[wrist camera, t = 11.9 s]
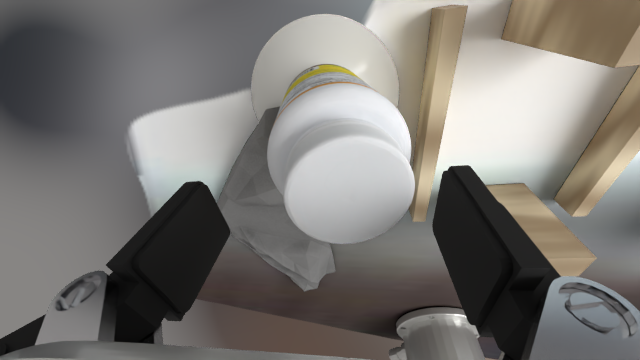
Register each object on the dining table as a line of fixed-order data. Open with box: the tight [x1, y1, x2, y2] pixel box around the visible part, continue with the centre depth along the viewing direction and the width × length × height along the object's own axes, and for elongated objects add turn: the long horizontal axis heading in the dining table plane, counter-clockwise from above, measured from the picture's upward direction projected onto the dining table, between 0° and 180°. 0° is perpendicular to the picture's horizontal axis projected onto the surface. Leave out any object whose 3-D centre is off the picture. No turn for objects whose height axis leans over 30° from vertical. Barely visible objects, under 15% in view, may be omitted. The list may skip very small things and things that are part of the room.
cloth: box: [217, 106, 335, 292], centre depth 23 cm, size 26×14×2 cm, turn 172°
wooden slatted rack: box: [409, 0, 640, 276], centre depth 13 cm, size 15×13×7 cm
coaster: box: [251, 14, 399, 122], centre depth 16 cm, size 10×10×1 cm
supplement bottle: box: [267, 64, 415, 244], centre depth 11 cm, size 6×6×10 cm
